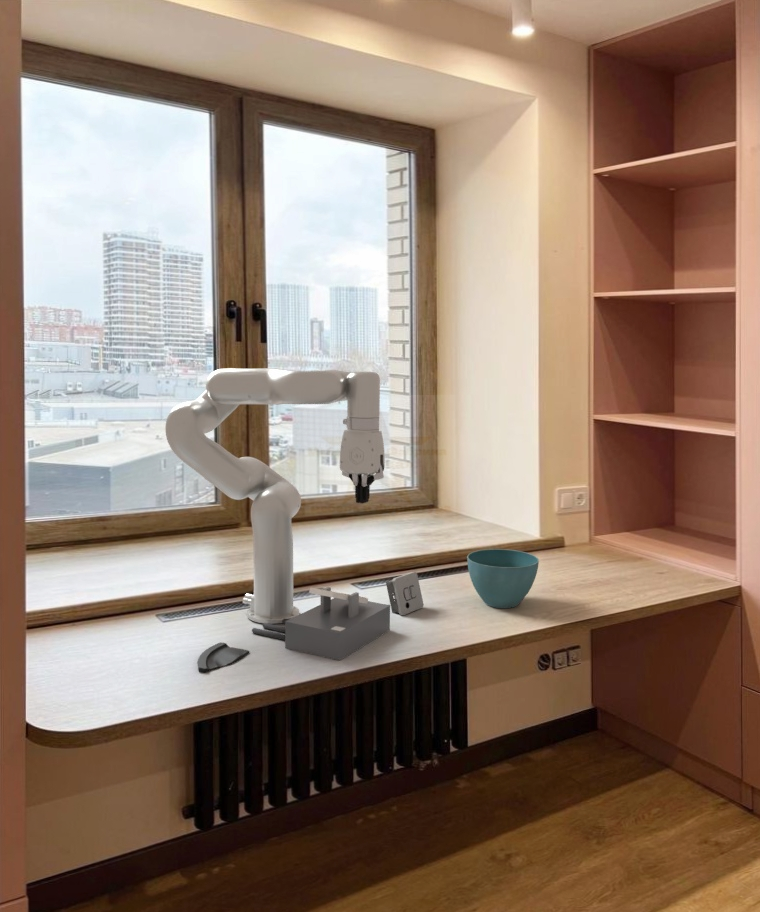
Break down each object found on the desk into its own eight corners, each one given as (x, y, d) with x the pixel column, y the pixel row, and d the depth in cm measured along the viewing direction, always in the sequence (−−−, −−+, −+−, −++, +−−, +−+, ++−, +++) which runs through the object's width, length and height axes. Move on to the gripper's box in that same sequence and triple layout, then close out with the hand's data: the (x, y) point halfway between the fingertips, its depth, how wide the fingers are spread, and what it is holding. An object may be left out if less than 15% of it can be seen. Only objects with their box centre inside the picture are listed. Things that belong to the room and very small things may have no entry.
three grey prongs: (250, 633, 187) (250, 628, 186) (277, 620, 195) (277, 616, 195) (294, 643, 181) (294, 638, 180) (319, 629, 189) (320, 624, 189)
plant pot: (543, 615, 203) (545, 567, 201) (470, 614, 202) (471, 566, 201) (529, 593, 221) (531, 549, 219) (462, 592, 220) (463, 548, 219)
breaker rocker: (309, 592, 177) (310, 587, 177) (345, 599, 191) (346, 594, 191) (332, 597, 174) (333, 591, 174) (367, 603, 188) (368, 598, 188)
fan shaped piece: (180, 670, 166) (179, 663, 166) (219, 649, 178) (219, 641, 178) (213, 677, 163) (213, 670, 162) (251, 655, 175) (251, 647, 175)
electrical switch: (402, 616, 200) (400, 579, 199) (385, 614, 203) (383, 577, 202) (424, 608, 207) (422, 572, 207) (408, 605, 210) (406, 570, 210)
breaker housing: (285, 648, 178) (285, 599, 176) (338, 619, 197) (339, 575, 195) (339, 660, 171) (340, 609, 170) (389, 630, 190) (390, 584, 189)
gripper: (327, 424, 190) (327, 501, 193) (383, 428, 183) (382, 508, 186) (344, 422, 197) (343, 496, 199) (399, 425, 190) (397, 503, 192)
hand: (362, 502), depth 192 cm, fingers closed
